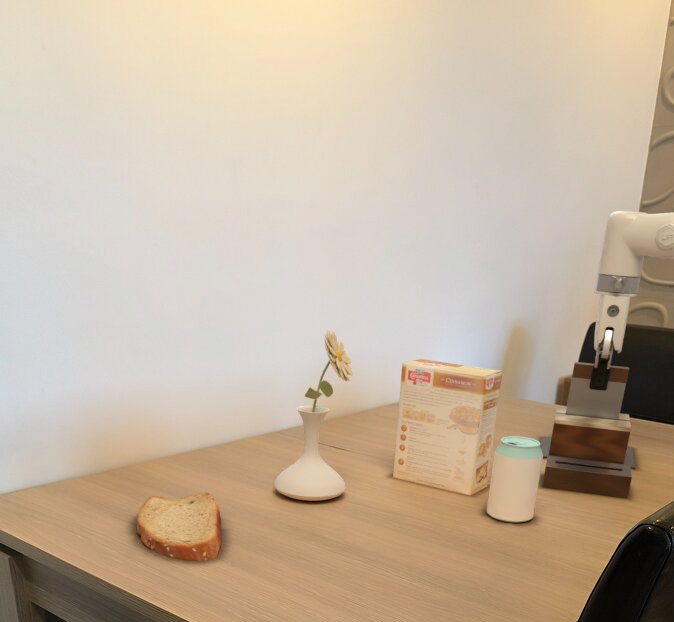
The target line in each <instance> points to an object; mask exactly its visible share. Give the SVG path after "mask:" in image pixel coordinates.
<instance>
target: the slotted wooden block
mask: <svg viewBox="0 0 674 622" xmlns="http://www.w3.org/2000/svg"><path fill="white" fill-rule="evenodd" d="M542 480H543V481H542V486H541V488H542V489H549V490H557V491H563V492H572V493H580V494H588V495H595V496H603V497H611V498H616V499H617V498H618V499H625V500H627V499H628V498H629V494H630V488H631V483H632V480H633V475H632V469H631V467H630V465H622V464H614V463H606V462H598V461H590V460H581V459H573V458H565V457H557V456H549V455H548V457H547V458H546V463H545V469H544V474H543V479H542Z"/></svg>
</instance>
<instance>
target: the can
mask: <svg viewBox="0 0 674 622" xmlns="http://www.w3.org/2000/svg"><path fill="white" fill-rule="evenodd" d="M540 444H541V441H539V440H537V439H534V438H531V437H526V436H519V435H510V436H508V435H507V436H504V437H502V438H501V439H500V443H499V444H498V445H497V446H496V447H495V449H494V455H493V462H492V471H491V477H490V483H489V490H488V491H489V492H488V497H487V498H488V499H487V504H486V513H487V514H488V515H489V516H490V517H491V518H493V519H495V520H496V521H501V522H505V523H515V524H516V523H517V524H518V523H524V522H527V521H530V520H532V519H533V517H534V513H535V509H536V508H535V507H536V502H537V495H538V489H539V483H540V477H541V472H542V471H541V470H542V465H543V460H544V458H543V453H542V451H541V448H540Z"/></svg>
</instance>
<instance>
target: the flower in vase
mask: <svg viewBox="0 0 674 622" xmlns="http://www.w3.org/2000/svg"><path fill="white" fill-rule="evenodd" d="M337 337H338V336H337V334H336V333H335V332H334V331H333V330H332V331H331V333H330V330H327V331H326V333H325V334H324V338H323V339H324V347H325V351H326V354H327V357H328V362H327V363H326V365H325V366H324V368H323V371H322V373H321V375H320V378H319V380H318V386H317V389H316V390H315V389H314V388H312V387H308V389H307V391H306V392H305V394H304V397H305V398H308V399H311V400H313V404H305V405H299V406H297V407H296V411H297V412H298V413H299V415H300V417H301V420H302V425H303V431H304V432H303V433H304V446H303V452H302V454H301V456H300V457H299V458H298V459H297V460H296V461H295V462H293V463H291V465H289V466H287V467H286V468H284V470H283V471H281V472H280V473H279V474H278V475H277V477H275V480H274V482H273V487H274V488H275V490H276V491H277V492H278V493H280V494H281V495H284V496H286V497H289V498H291V499H294V500H301V501H307V502H308V501H310V502H311V501H313V502H314V501H315V502H317V501H326V500H330V499H333V498H337V497H339V496H341V495H342V494H343V493H344V491H345V490H346V489H347V486H346V483H345V480H344V479H343V478H342V477H341V475H340V474H339V473H338V472H337V471H336V470H335V469H334V468H332V466H330V465H329V464H328V463H326V462H325V461H324V459H323V457H321V454H320V436H321V435H320V434H321V429H322V425H323V422H324V420H325V418H326V416H327V414H329V412H330V411H331V410H330V408H329V407H326V406H323V405H317V402H318V399H319V398H320V397H321V396H322V395H324V396H325V397H327V398H329V397H331V396H332V395H333V393H334V390H333V385H332V384H331V383H330V382H329V381H327V380H325V379H324V376H325V374H326V372H327V370H328V369H329V366H331V367H332V368H333V370H334V372H335V373H336V376H337V377H338V378H341V380H342V381H345V382H350V381H351V379H350V376H351V377H353V375H354V374H353V371H352V368H351V366H350V364H351V363H352V361H351V359H350V357H349V356H348V354H347V353H346V351H345V345H344V343H343V342H342V341H340V342H339V341H338V339H337ZM320 391H321V392H320Z"/></svg>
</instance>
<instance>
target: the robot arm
mask: <svg viewBox="0 0 674 622" xmlns="http://www.w3.org/2000/svg"><path fill="white" fill-rule="evenodd" d="M645 256H646V257H649V258H654V259H656V260H657V259H658V260H663V261H672V260H674V212H672V211H671V212H663V213H661V212H660V213H647V212H643V211H635V210H634V211H633V210H632V211H631V210H615V211H612V212H611V213H610V214H609V215H608V218H607V221H606V225H605V231H604V237H603V242H602V248H601V254H600V258H599V265H598V270H597V275H596V282H595V286H594V294H596V295H600V297H599V302H598V308H597V313H596V314H597V315H596V320H595V327H594V328H595V329H594V338H593V340H594V341H593V344H594V345H593V348H594V350H595V352H596V353H595V359H594V363H593V364H595V367H593V370H592V375H591V380H590V386H589V388H590V389H592V390H602V391H606V390H607V385H608V380H609V375H610V370H611V369H610V366H611V364H612V358H613V352H614V351H616V353H617V354H620V353H621V352H622V349H623V343H624V339H625V338H624V337H625V333H626V327H627V323H628V317H629V311H630V306H631V305H630V303H631V298H632V297H633V298H635V297H637V296H638V293H639V287H640V282H641V277H642V273H643V266H644V261H645V258H646V257H645ZM606 368H607V369H606Z"/></svg>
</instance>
